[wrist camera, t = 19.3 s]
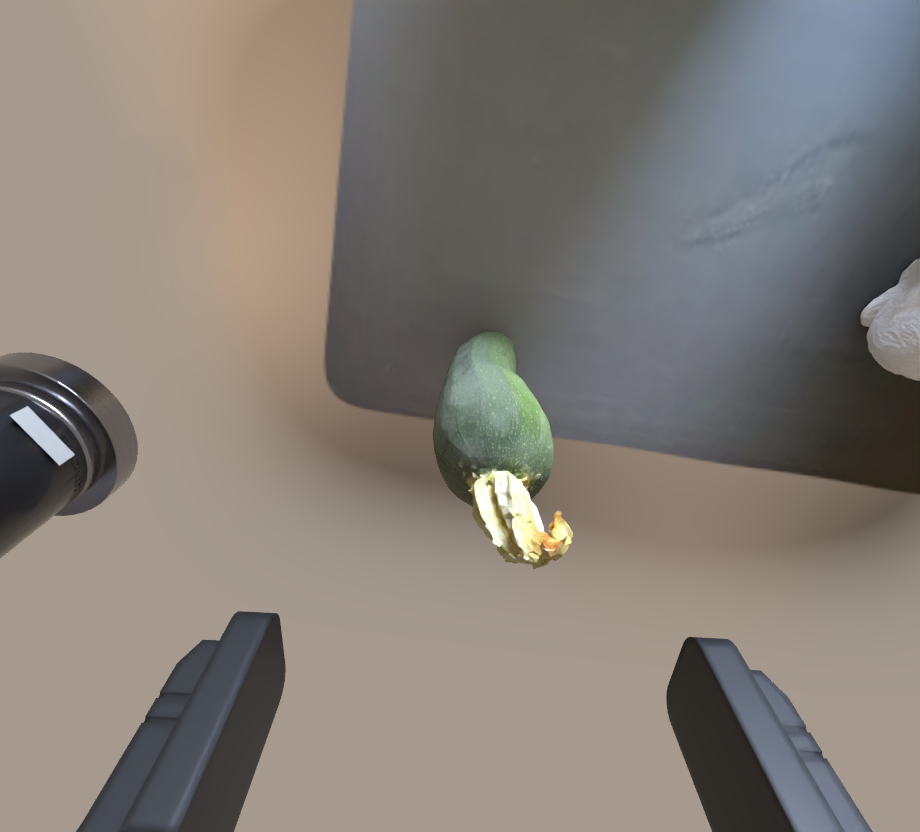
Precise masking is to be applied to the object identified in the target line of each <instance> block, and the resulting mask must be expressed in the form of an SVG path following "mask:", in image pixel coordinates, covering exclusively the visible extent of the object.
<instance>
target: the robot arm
mask: <svg viewBox="0 0 920 832" xmlns="http://www.w3.org/2000/svg"><path fill="white" fill-rule="evenodd" d="M98 464H99V461H98V454H97V450H96V447H95V444H94V442H93V439H92V438H91V436H90V434H89V432H88V431H87V429H86V428H85V426H84V425H83V424H82V422H81V421H80V420H79V419H78V418H77V417H76V416H75V415H74V414H73V413H72V412H71V411H70V410H69V409H68V408H66V407H65V406H64V405H63V404H61V403H60V402H58V401H57V400H55V399H54V398H52V397H50V396H48V395H47V394H45V393H43V392H40V391H38V390H36V389H33V388H30V387H27V386H23V385H19V384H14V383H0V558H1V557H2V556H4V555H5V554H6V553H8V552H9V551H10V550H11V549H13V548H14V547H15V546H16V545H18V544H19V543H20V542H21V541H23V540H24V539H25V538H26V537H28V536H29V535H30V534H31V533H33V532H34V531H35V530H36V529H38V528H39V527H40V526H41V525H43V524H44V523H45V522H46V521H48V520H49V519H50V518H51V517H53V516H54V515H55V514H57V513H58V512H59V511H60V510H62V509H63V508H64V507H65V506H67V505H69V504H71V503H72V502H74V501H75V500H76V499H78V498H79V497H80V496H81V495H83V494H84V493H85V492H86V491H87V490H88V489H89V488H90V487H91V486H92V484H93V483H94V481H95V479H96V476H97V473H98ZM282 642H283V641H282V633H281V625H280V618H279V615H278V614H277V613H260V612H242V611H241V612H237V613H235V614H234V616H233V617H232V619H231V620H230V622H229V624H228V626H227V628H226V630H225V631H224V633H223V635H222V637H221V639H220V641H216V640H202V641H201V642H200V643H199V644H198V645H197V646H196V647H194V648H193V649H192V650H191V651H190V652H189V653H188V654H187V655H186V656H185V657H184V658H182V659H181V660H180V661H179V662H178V663H177V664H176V666H175V668H174V670H173V671H172V673H171V675H170V676H169V678H168V680H167V681H166V683H165V685H164V686H163V688H162V690H161V692H160V696H159V698H156V700H155V702H154V703H153V705H152V706H151V708H150V710H149V711H148V713H147V715H146V718H145V721H144V723H141V725H140V727H139V728H138V730H137V732H136V733H135V735H134V737H133V738H132V740H131V742H130V744H129V745H128V747H127V749H126V750H125V752H124V754H123V755H122V757H121V758H120V760H119V762H118V764H117V765H116V767H115V769H114V770H113V772H112V774H111V775H110V777H109V779H108V780H107V782H106V784H105V785H104V787H103V789H102V790H101V792H100V794H99V795H98V797H97V799H96V800H95V802H94V804H93V806H92V807H91V809H90V811H89V812H88V814H87V816H86V817H85V819H84V821H83V822H82V824H81V825H80V827H79V828H78V830H77V831H76V832H234V829H235V827H236V824H237V821H238V818H239V815H240V812H241V810H242V807H243V804H244V801H245V798H246V796H247V793H248V790H249V787H250V784H251V781H252V779H253V776H254V773H255V770H256V767H257V765H258V762H259V759H260V756H261V753H262V750H263V747H264V745H265V742H266V739H267V736H268V733H269V731H270V728H271V725H272V722H273V719H274V717H275V714H276V711H277V708H278V705H279V702H280V699H281V696H282V692H283V687H284V681H285V658H284V651H283V643H282ZM667 709H668V715H669V719H670V722H671V725H672V727H673V730H674V733H675V735H676V738H677V741H678V743H679V746H680V748H681V751H682V754H683V756H684V759H685V762H686V764H687V767H688V769H689V772H690V774H691V777H692V780H693V782H694V785H695V788H696V790H697V793H698V795H699V798H700V800H701V803H702V806H703V808H704V811H705V814H706V816H707V819H708V822H709V824H710V827H711V829H712V832H872V830H871V829H870V827H869V825H868V824H867V822H866V821H865V819H864V818H863V816H862V814H861V813H860V812H859V810H858V808H857V806H856V805H855V803H854V802H853V800H852V798H851V797H850V795H849V794H848V792H847V791H846V789H845V787H844V786H843V784H842V783H841V781H840V779H839V778H838V776H837V775H836V773H835V771H834V770H833V768H832V767H831V765H830V763H829V762H828V760H827V759H825V758H823V756H822V751H821V749H820V748H819V746H818V744H817V743H816V741H815V740H814V738H813V736H812V735H811V733H808V732H807V730H806V725H805V724H804V722H803V721H802V719H801V718H800V716H799V714H798V713H797V711H796V709H795V708H794V706H793V705H792V703H791V702H790V700H789V699H788V697H787V696H786V695H785V694H784V693H783V692H782V691H781V690H780V689H779V688H778V687H777V686H776V685H775V684H774V683H773V682H772V681H771V680H770V679H769V678H768V677H767V676H766V675H765V674H763V672H761V671H756V670H750V669H749V668H748V666H747V664H746V662H745V661H744V659H743V657H742V656H741V654H740V652H739V651H738V649H737V647H736V646H735V645H734V644H733V643H732V642H731V641H730V640H728V639H716V638H697V637H689V638H687V639H686V640H685V641H684V643H683V646H682V649H681V652H680V654H679V657H678V660H677V663H676V665H675V668H674V671H673V674H672V676H671V679H670V682H669V685H668V689H667Z"/></svg>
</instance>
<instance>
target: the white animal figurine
mask: <svg viewBox="0 0 920 832" xmlns="http://www.w3.org/2000/svg"><path fill="white" fill-rule="evenodd" d="M860 319H861V324H862V325H863V326H867V327H869V330H868V332H867V336H866V339H867V342H868V349H869V352H871V354H872V356H873V358H875V360H876V361H877V362H878V363H879V364H880V365H882V367H883V368H884V369H886V370H888V371H891V372H892V373H894V374H899V375H903V376H904V377H907V378H910V379H913V380H917V381H920V258H919V259H917V260H915V261H914V262H913V263H911V264H910V265H909V267H908V268H907V269H905V270H904V271H903V273H902V274H901V277H900V279H899V283H898V284H897V285H896V286H895V287H893V288H890V289H888V290H887V291H886V292H885V293H882V294H881V295H880V296H879V297H877V298H875V299H873V301H871V302H870V303H869V304H868V305H867V306H866V307H865V308H864V309H863V311H862V312H861V316H860Z"/></svg>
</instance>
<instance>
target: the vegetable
mask: <svg viewBox="0 0 920 832" xmlns="http://www.w3.org/2000/svg"><path fill="white" fill-rule="evenodd" d="M516 365H517V358H516V353H515V349H514V346H513V343H512V341H511V340H510V339H509V338H507V337H506V336H504V335H502V334H500V333H497V332H491V331H483V332H481V333H479V334H477V335H476V336H474V337H472V338H470V339H469V340H467V341H466V342H465V343H463V344H462V345H461V346H460V347H459V348H458V350H457V351H456V353H455V355H454V358H453V360H452V362H451V364H450V366H449V369H448V372H447V376H446V378H445V381H444V384H443V386H442V389H441V392H440V397H439V402H438V405H437V408H436V415H435V422H434V430H433V440H434V450H435V454H436V459H437V463H438V466H439V469H440V472H441V474H442V476H443V478H444V480H445V482H446V484H447V486H448V488H449V489H450V490H451V491H452V492H453V493H454V494H455V495H456V496H457V497H458V498H460V499H461V500H463V501H464V502H466V503H467V504H469V505H471V506H472V507H473V516H474V518H475V520H476V522H477V524H478V526H479V527H480V528H481V529H482V530H483V531H484V533H485V534H486V535H487V536H488V537H489V538H490V539H491V540H493V544H495V545H496V546H497V550H498V552H499V553H500V555H501V556H503V557H504V558H505V561H506V562H512V563H518V562H520V563H526V564H532V565H533V569H535V568H538V567H541V566H544V565H547V564H548V563H549V561H550V560H552V559H553V560H555V561H556V560H558V559H559V558H560V557H562V554H564V553H565V552H566V551H567V550H568V547H569V545H570V544H571V538H572V536H573V532H572V531H571V529H570V527H569V525H568V524H567V523H566V522H565V520H563V519H562V518H561V515H562V512H560V511H557V512H556V513H555V514H554V518H553V521H552V522H551V524H550V525H549V532H551V534H550V535H548V534H547V533H546V532H544V527H543V524H542V521H541V518H540V516H539V513H538V509H537V507H536V506H535V504H534V503H533V502H532V501H531V499H532V498H534V496H535V495H536V494H537V493H538V492H539V491H540V489H541V488H542V487H543V486H544V484H545V482H546V481H547V479H548V477H549V475H550V471H551V469H552V466H553V463H554V450H553V439H552V435H551V430H550V426H549V422H548V419H547V417H546V416H545V414H544V412H543V410H542V408H541V407H540V405H539V403H538V401H537V400H536V398H535V397H534V395H533V394H532V392H531V391H530V390H529V389H528V387H527V386H526V384H525V383H524V381H523V380H522V379H521V378H520V377H518V376H517V375H516Z"/></svg>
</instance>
